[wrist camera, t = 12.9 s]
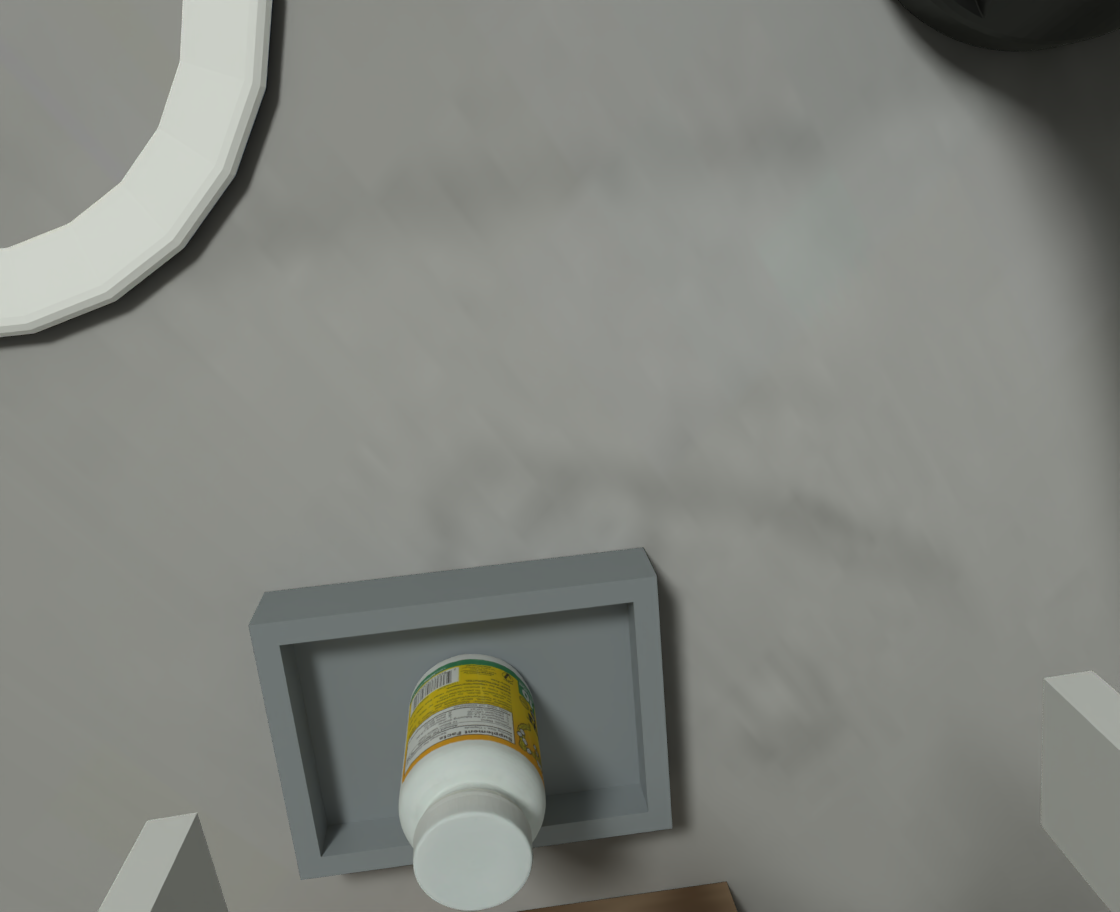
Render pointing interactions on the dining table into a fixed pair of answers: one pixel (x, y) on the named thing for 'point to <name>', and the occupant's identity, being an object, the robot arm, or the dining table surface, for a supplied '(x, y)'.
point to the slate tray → (436, 635)
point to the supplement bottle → (472, 782)
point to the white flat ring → (152, 177)
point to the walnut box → (659, 901)
